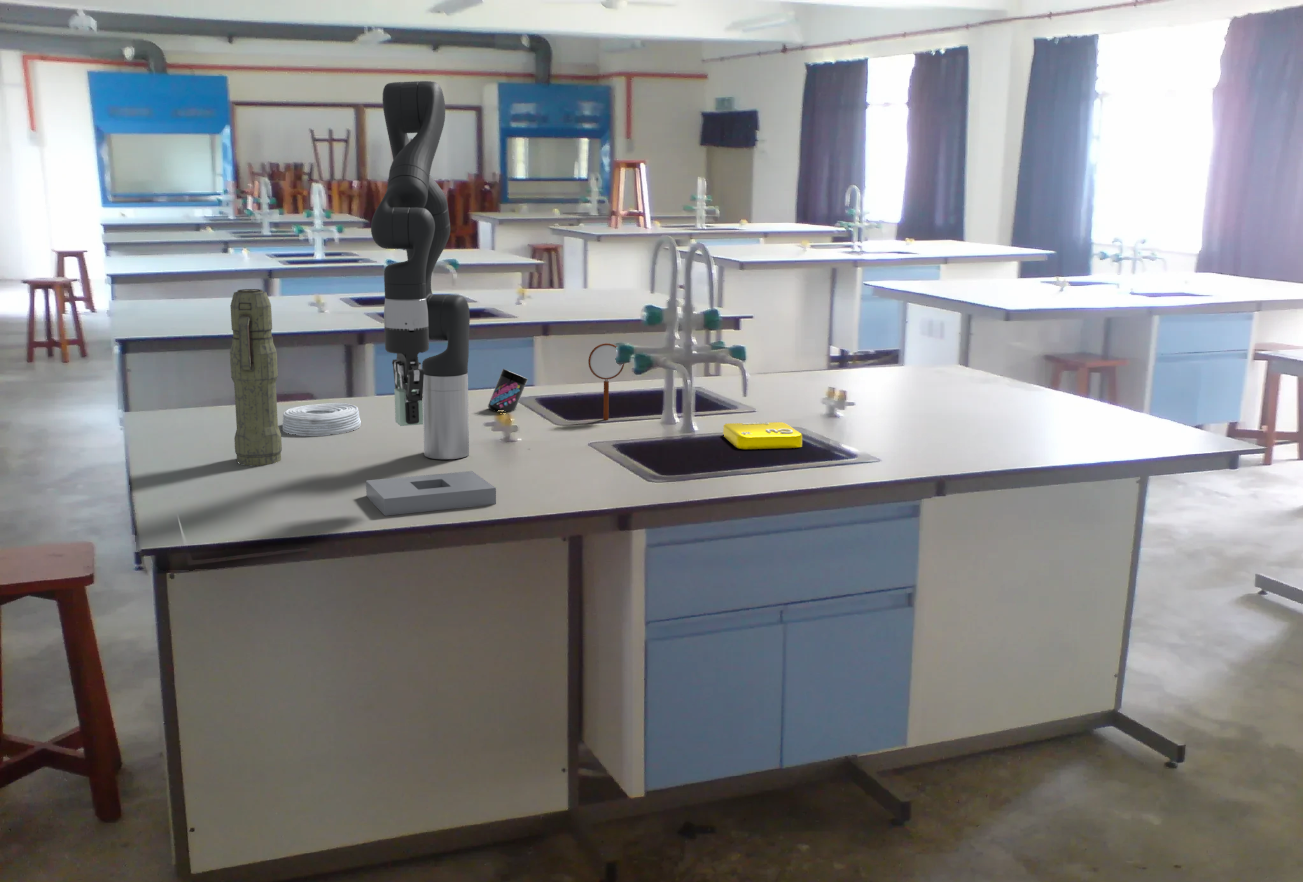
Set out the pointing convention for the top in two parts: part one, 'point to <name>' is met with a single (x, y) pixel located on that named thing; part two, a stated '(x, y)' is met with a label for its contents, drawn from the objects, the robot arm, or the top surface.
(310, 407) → the cable
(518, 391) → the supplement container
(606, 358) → the magnifying glass
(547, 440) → the top surface
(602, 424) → the top surface
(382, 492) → the socket box
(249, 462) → the thermos
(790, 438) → the element tile
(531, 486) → the top surface
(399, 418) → the block
